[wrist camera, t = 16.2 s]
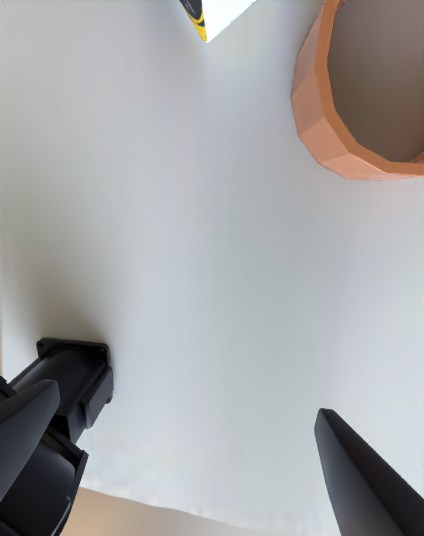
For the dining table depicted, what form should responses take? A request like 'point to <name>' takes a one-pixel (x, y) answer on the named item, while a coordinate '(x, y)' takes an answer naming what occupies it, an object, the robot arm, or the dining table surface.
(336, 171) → the terracotta pot
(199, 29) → the medicine bottle
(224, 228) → the dining table surface
